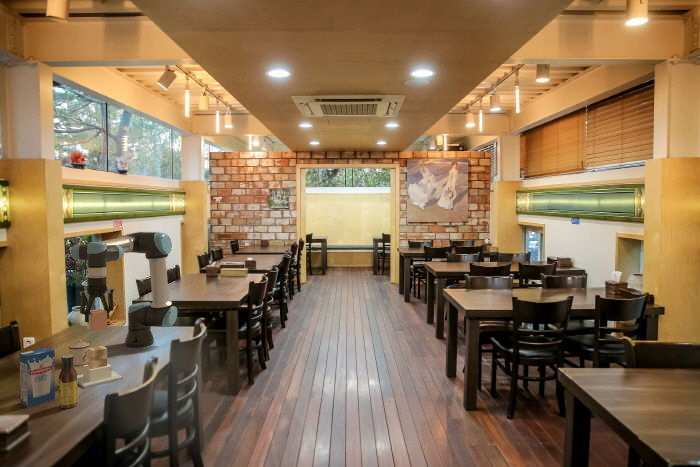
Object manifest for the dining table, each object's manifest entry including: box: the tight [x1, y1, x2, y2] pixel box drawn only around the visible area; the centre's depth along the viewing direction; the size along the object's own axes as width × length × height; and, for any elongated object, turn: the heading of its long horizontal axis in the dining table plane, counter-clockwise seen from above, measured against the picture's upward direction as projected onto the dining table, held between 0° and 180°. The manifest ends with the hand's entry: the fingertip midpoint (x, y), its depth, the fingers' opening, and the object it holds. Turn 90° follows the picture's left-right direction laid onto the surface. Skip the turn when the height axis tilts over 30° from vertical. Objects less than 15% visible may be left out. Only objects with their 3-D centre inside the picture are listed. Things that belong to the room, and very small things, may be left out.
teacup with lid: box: [68, 339, 91, 367], centre depth 240 cm, size 12×9×12 cm
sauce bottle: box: [58, 354, 79, 409], centre depth 187 cm, size 7×6×20 cm
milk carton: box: [19, 347, 56, 408], centre depth 191 cm, size 10×6×20 cm, turn 148°
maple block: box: [87, 345, 108, 369], centre depth 217 cm, size 6×6×8 cm
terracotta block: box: [89, 308, 108, 332], centre depth 216 cm, size 6×6×8 cm
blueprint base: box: [77, 362, 124, 389], centre depth 217 cm, size 16×16×6 cm
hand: (97, 328), depth 217 cm, fingers closed on terracotta block, 6 cm apart
